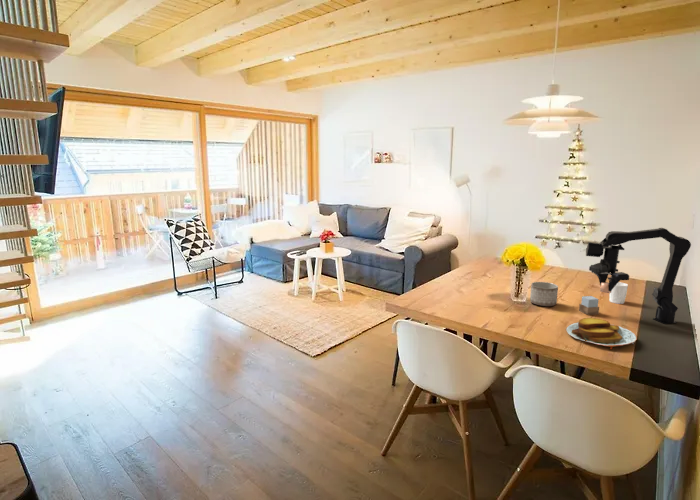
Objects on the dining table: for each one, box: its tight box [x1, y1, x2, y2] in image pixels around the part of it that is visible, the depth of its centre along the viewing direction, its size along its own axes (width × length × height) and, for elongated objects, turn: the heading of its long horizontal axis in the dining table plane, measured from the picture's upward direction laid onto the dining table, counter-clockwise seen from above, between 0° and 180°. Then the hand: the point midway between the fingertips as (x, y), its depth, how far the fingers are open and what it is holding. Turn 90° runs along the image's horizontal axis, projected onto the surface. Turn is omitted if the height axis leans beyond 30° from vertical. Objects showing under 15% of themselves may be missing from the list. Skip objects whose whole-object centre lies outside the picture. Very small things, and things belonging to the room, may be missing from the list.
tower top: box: [580, 295, 600, 307], centre depth 194 cm, size 5×5×4 cm
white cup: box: [608, 281, 629, 305], centre depth 209 cm, size 8×8×10 cm
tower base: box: [578, 303, 600, 316], centre depth 195 cm, size 6×6×4 cm
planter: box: [529, 281, 559, 307], centre depth 208 cm, size 13×13×10 cm
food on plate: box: [565, 317, 638, 350], centre depth 166 cm, size 25×25×7 cm
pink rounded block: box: [599, 281, 611, 294], centre depth 190 cm, size 5×5×4 cm
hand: (605, 289), depth 190 cm, fingers closed on pink rounded block, 5 cm apart
